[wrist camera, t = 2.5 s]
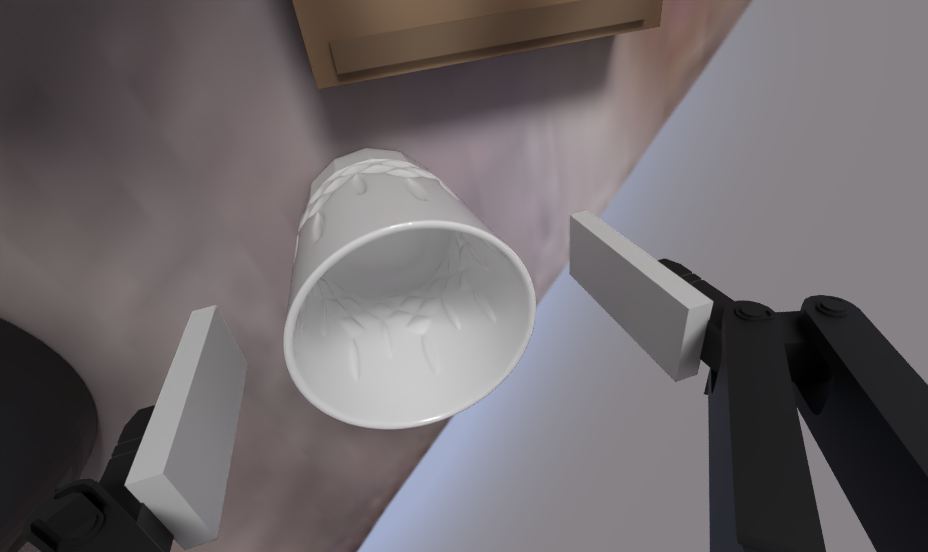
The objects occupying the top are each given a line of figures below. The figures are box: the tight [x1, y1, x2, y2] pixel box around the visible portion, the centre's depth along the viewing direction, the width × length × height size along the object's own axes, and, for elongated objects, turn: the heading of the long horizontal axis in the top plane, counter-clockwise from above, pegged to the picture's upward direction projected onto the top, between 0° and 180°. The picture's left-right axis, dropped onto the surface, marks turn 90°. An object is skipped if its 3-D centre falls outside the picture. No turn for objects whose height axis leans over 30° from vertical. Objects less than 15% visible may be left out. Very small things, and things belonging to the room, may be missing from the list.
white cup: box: [283, 148, 536, 430], centre depth 18 cm, size 8×8×10 cm
